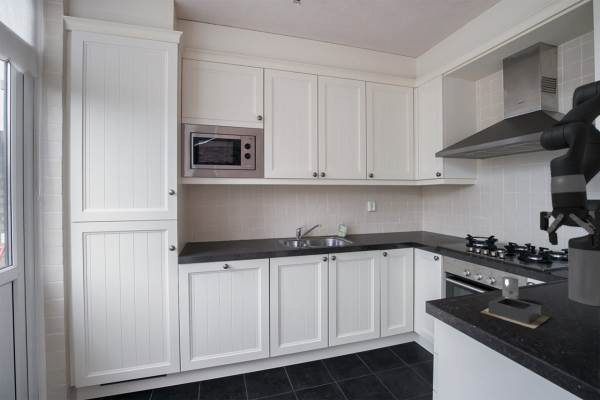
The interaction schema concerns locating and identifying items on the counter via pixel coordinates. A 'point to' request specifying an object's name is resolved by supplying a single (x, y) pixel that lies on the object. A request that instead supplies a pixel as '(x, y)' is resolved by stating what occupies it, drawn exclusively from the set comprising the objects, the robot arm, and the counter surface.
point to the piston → (510, 287)
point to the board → (532, 325)
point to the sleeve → (515, 309)
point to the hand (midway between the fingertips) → (572, 246)
